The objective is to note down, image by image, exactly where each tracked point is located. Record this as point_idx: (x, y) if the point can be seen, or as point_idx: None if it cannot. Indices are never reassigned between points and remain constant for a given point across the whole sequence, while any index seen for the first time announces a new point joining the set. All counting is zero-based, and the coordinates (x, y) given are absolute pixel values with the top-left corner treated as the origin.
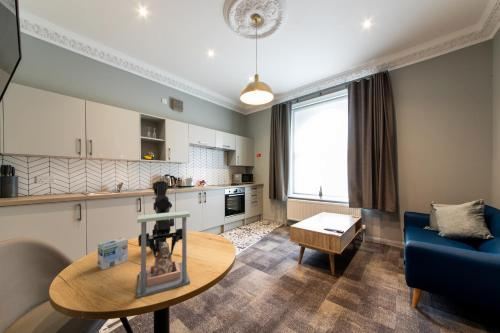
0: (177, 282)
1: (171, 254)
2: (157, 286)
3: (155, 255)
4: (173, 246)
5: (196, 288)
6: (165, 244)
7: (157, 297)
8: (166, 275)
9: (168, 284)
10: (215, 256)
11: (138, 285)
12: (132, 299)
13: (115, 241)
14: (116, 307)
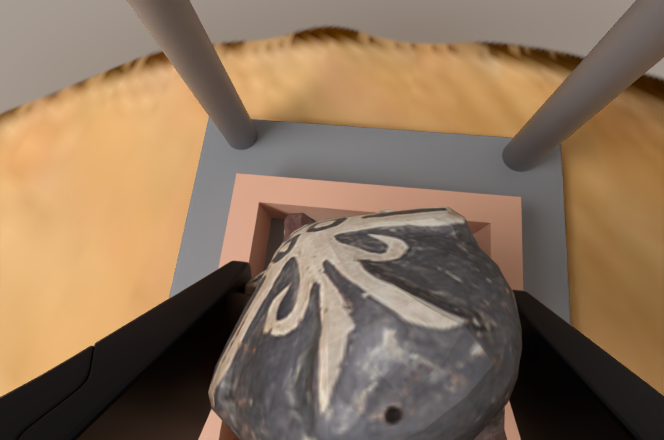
0: (288, 144)
1: (248, 277)
2: (423, 171)
3: (524, 301)
4: (133, 323)
5: None
6: (334, 256)
7: (426, 93)
8: (356, 184)
9: (349, 154)
10: None
11: (563, 270)
12: (573, 153)
13: None
14: (656, 124)
